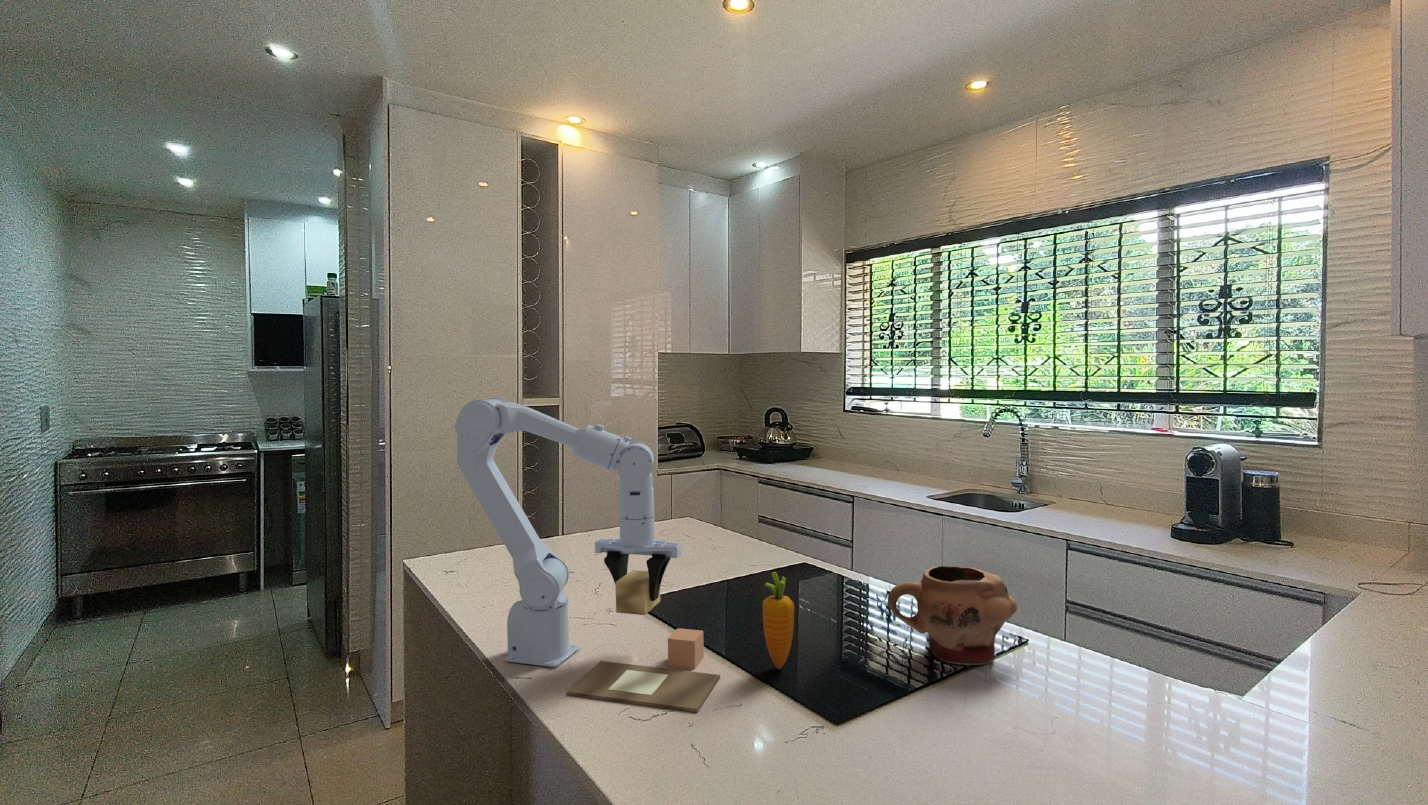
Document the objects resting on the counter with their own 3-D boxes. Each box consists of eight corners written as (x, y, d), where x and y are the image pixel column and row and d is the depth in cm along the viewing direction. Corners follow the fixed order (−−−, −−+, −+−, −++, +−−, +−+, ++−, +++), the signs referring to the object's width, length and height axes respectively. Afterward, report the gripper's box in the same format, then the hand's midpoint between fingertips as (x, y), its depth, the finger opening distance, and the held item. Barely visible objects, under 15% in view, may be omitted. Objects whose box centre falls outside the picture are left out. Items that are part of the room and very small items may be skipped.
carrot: (793, 677, 104) (792, 579, 104) (761, 674, 105) (759, 578, 105) (796, 663, 109) (795, 570, 108) (765, 661, 110) (764, 569, 109)
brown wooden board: (566, 694, 99) (566, 691, 99) (600, 663, 110) (600, 660, 110) (697, 712, 94) (697, 708, 94) (720, 678, 104) (719, 674, 104)
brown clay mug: (898, 672, 105) (898, 583, 105) (881, 641, 117) (880, 561, 117) (1030, 672, 105) (1030, 582, 104) (998, 641, 117) (998, 560, 116)
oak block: (616, 612, 111) (615, 582, 111) (633, 598, 118) (632, 570, 117) (644, 615, 109) (644, 584, 109) (660, 601, 116) (659, 571, 116)
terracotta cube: (668, 666, 109) (667, 638, 109) (677, 655, 113) (677, 628, 113) (695, 669, 108) (694, 641, 107) (703, 657, 112) (703, 630, 112)
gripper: (585, 519, 111) (587, 602, 112) (670, 523, 107) (671, 609, 108) (604, 510, 118) (606, 588, 118) (684, 514, 114) (685, 595, 114)
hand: (638, 597), depth 113 cm, fingers closed on oak block, 5 cm apart
